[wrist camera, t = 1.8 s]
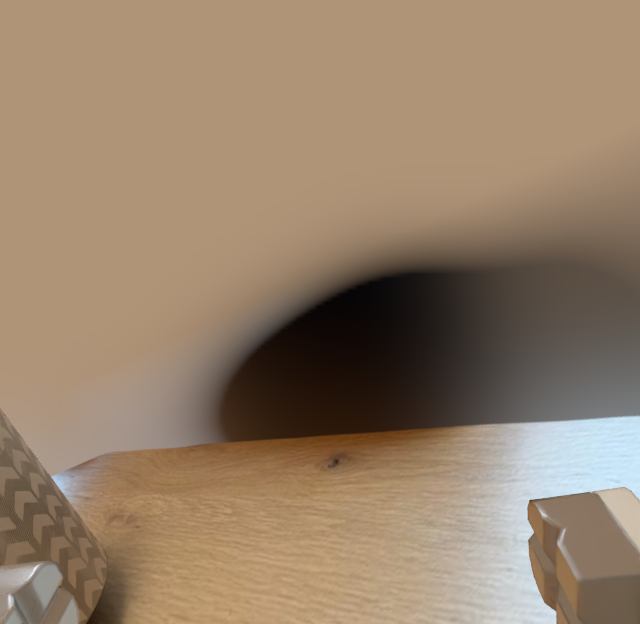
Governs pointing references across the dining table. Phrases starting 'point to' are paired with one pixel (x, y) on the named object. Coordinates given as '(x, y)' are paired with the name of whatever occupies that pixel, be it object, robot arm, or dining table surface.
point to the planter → (45, 523)
